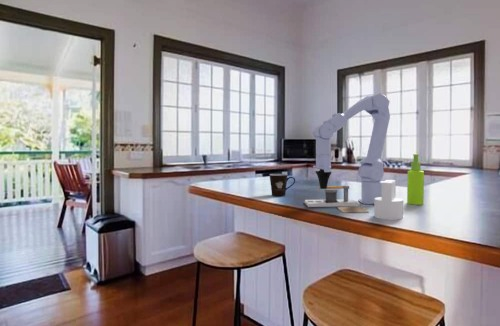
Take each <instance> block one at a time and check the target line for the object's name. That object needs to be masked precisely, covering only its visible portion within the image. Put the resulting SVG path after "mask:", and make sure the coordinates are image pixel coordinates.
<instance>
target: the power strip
mask: <svg viewBox="0 0 500 326" xmlns="http://www.w3.org/2000/svg"><path fill="white" fill-rule="evenodd" d="M304 204H305V205H306V206H307V207H308V208H312V207H313V208H317V207H318V208H320V207H321V208H322V207H325V208H326V207H327V208H328V207H330V208H331V207H333V208H334V207H336V208H337V207H360V203H359V201H356V200H355V199H353V198H349V189H343V198H341V199H340V198H339V199H338V198H337V203H326V199H305V200H304Z"/></svg>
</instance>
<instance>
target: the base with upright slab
mask: <svg viewBox="0 0 500 326" xmlns="http://www.w3.org/2000/svg"><path fill="white" fill-rule="evenodd" d="M383 181H384V182H382V197H377V198H375V199H374V209H373V212H374V218H377V219H380V220H386V219H388V220H390V221H396V220H397V219H399V220H403V219H404V199H403V198H401V197H396V195H397V194H396V187H397V186H396V185H397V184H396V183H397V182H396V181H397V180H396V179H385V180H383ZM402 218H403V219H402ZM388 220H387V221H388Z"/></svg>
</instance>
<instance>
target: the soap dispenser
mask: <svg viewBox="0 0 500 326" xmlns="http://www.w3.org/2000/svg"><path fill="white" fill-rule="evenodd" d="M412 156H413V160H412V161H411V162H410V170H407V187H406V188H407V191H406V193H407V194H406V195H407V196H406V201H407V202H406V203H407V204H409V205H414V206H415V205H416V206H417V205H418V206H419V205H420V206H421V205H422V206H423V205H424V191H425V189H424V188H425V187H424V185H425V183H424V182H425V172H424V170H422V169H421V164H422V163H421V162H420V161H419V156H420V155H419V153H413V154H412Z"/></svg>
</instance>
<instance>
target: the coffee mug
mask: <svg viewBox="0 0 500 326" xmlns="http://www.w3.org/2000/svg"><path fill="white" fill-rule="evenodd" d="M290 179H293V183H292V184H290V185H289V186H288V187H287V182H288V181H289V180H290ZM269 182H270V189H271V191H270V192H271V196H273V197H285V196H286V194H287V193H286V191H287V190H288V189H289V188H291V187H293V185H295V183H296V178H294V176H289V177H288V174H287V173H270V174H269Z"/></svg>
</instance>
